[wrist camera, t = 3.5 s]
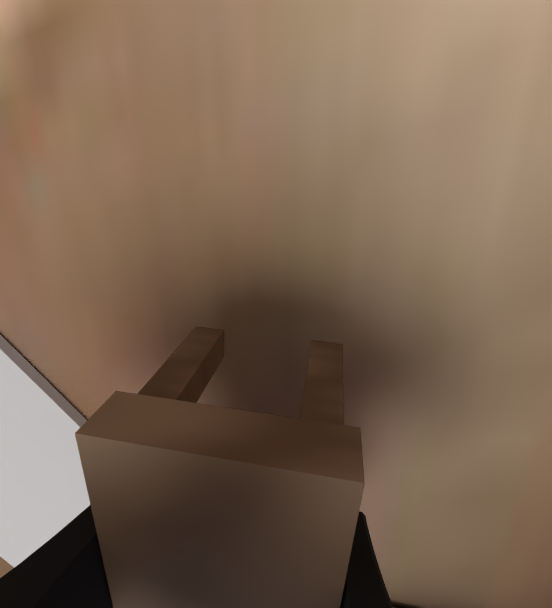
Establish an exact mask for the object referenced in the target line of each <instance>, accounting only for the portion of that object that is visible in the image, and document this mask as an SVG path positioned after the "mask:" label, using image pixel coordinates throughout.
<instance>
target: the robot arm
mask: <svg viewBox="0 0 552 608" xmlns="http://www.w3.org/2000/svg"><path fill="white" fill-rule="evenodd" d="M0 608H113V604H112V599H111V595H110V590H109V586H108V581H107V577H106V572H105V568H104V563H103V559H102V554H101V550H100V545H99V541H98V536H97V532H96V527H95V523H94V518H93V514H92V509H91V505H89V506H88V507H87V508H86V509H85V510H84V511H83V512H81V513H80V514H79V515H78V516H77V517H75V518H74V519H73V520H72V521H71V522H70V523H68V524H67V525H66V526H65V527H64V528H63V529H61V530H60V531H59V532H58V533H57V534H56V535H54V536H53V537H52V538H51V539H50V540H48V541H47V542H46V543H45V544H43V545H42V546H41V547H40V548H38V549H37V550H36V551H35V552H33V553H32V554H31V555H30V556H28V557H27V558H26V559H25V560H23V561H22V562H21V563H20V564H18V565H17V566H16V567H15V568H13V569H12V570H11V571H9V572H8V573H7V574H5V575H4V576H3V577H1V578H0ZM340 608H395V607H393V606H392V603H391V601H390V598H389V595H388V592H387V589H386V587H385V584H384V581H383V578H382V575H381V572H380V569H379V565H378V562H377V559H376V556H375V552H374V549H373V546H372V542H371V538H370V534H369V530H368V526H367V522H366V517H365V515H364V514H363V513H362V512H359V514H358V519H357V524H356V529H355V534H354V539H353V544H352V549H351V554H350V559H349V564H348V569H347V574H346V579H345V585H344V590H343V595H342V600H341V605H340Z"/></svg>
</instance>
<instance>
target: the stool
mask: <svg viewBox="0 0 552 608" xmlns="http://www.w3.org/2000/svg"><path fill="white" fill-rule="evenodd" d="M223 357H224V330H220V329H212V328H204V327H195V328H194V330H193V331H192V332H191V333H190V334H189V335H188V337H187V338H186V339H185V340H184V341H183V342H182V343H181V345H180V346H179V347H178V348H177V349H176V350H175V351H174V353H173V354H172V355H171V356H170V357H169V358H168V360H167V361H166V362H165V363H164V364H163V365H162V366H161V368H160V369H159V370H158V371H157V372H156V373H155V374H154V376H153V377H152V378H151V379H150V380H149V381H148V382H147V384H146V385H145V386H144V387H143V388H142V389H141V391H140V392H139V393H138V394H133V393H127V392H120V391H115V393H114V394H113V395H112V396H111V397H110V398H109V399H108V400H107V401H106V402H105V403H104V404H103V405H102V406H101V407H100V408H99V409H98V410H97V411H96V412H95V413H94V414H93V415H92V416H91V417H90V418H89V419H88V420H87V421H86V422H85V423H84V424H83V425H82V426H81V427H80V428H79V429H78V430H77V431H76V432H75V437H76V442H77V446H78V451H79V455H80V460H81V464H82V469H83V473H84V478H85V482H86V487H87V491H88V496H89V500H90V505H91V509H92V514H93V518H94V523H95V527H96V532H97V536H98V541H99V545H100V550H101V554H102V559H103V563H104V568H105V572H106V577H107V581H108V586H109V590H110V595H111V599H112V604H113V608H340V605H341V600H342V595H343V590H344V585H345V579H346V574H347V569H348V564H349V559H350V554H351V549H352V544H353V539H354V534H355V529H356V524H357V519H358V514H359V509H360V503H361V498H362V493H363V488H364V470H363V458H362V445H361V432H360V428H359V427H352V426H345V425H344V403H343V346H342V344H337V343H328V342H320V341H312V343H311V349H310V356H309V362H308V369H307V375H306V382H305V388H304V395H303V401H302V408H301V414H300V419H299V418H292V417H286V416H279V415H272V414H266V413H259V412H253V411H246V410H239V409H233V408H226V407H219V406H213V405H206V404H200V403H196V402H197V401H198V399H199V397H200V395H201V394H202V392H203V390H204V389H205V387H206V385H207V384H208V382H209V380H210V379H211V377H212V375H213V374H214V372H215V370H216V369H217V367H218V365H219V364H220V362H221V360H222V358H223Z"/></svg>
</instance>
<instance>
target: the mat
mask: <svg viewBox="0 0 552 608" xmlns="http://www.w3.org/2000/svg"><path fill="white" fill-rule="evenodd" d="M86 421H87V420H86V419H85V418H84V417H83V416H82V415H81V414H80V413H79V412H78V411H77V410H76V409H75V408H74V407H73V406H72V405H71V404H70V403H69V402H68V401H67V400H66V399H65V398H64V397H63V396H62V395H61V394H60V393H59V392H58V391H57V390H56V389H55V388H54V387H53V386H52V385H51V384H50V383H49V382H48V381H47V380H46V379H45V378H44V377H43V376H42V375H41V374H40V373H39V372H38V371H37V370H36V369H35V368H34V367H33V366H32V365H31V364H30V363H29V362H28V361H27V360H26V359H25V358H24V357H23V356H22V355H21V354H20V353H19V352H18V351H17V350H16V349H15V348H13V347H12V346H11V345H10V344H9V343H8V342H7V341H6V340H5V339H4V338H3V337H2V336H1V335H0V556H1V557H2V558H3V559H4V560H6V561H7V562H8V563H9V564H10V565H12V566H13V567H14V568H15V567H16V566H17V565H18V564H20V563H21V562H22V561H23V560H25V559H26V558H27V557H28V556H30V555H31V554H32V553H33V552H35V551H36V550H37V549H38V548H40V547H41V546H42V545H43V544H45V543H46V542H47V541H48V540H50V539H51V538H52V537H53V536H54V535H56V534H57V533H58V532H59V531H60V530H61V529H63V528H64V527H65V526H66V525H67V524H68V523H70V522H71V521H72V520H73V519H74V518H75V517H77V516H78V515H79V514H80V513H81V512H83V511H84V510H85V509H86V508H87V507H88V506H89V505H90V500H89V496H88V491H87V487H86V482H85V478H84V473H83V469H82V464H81V460H80V455H79V451H78V446H77V442H76V437H75V432H76V431H77V430H78V429H79V428H80V427H81V426H82V425H83V424H84V423H85V422H86Z"/></svg>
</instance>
